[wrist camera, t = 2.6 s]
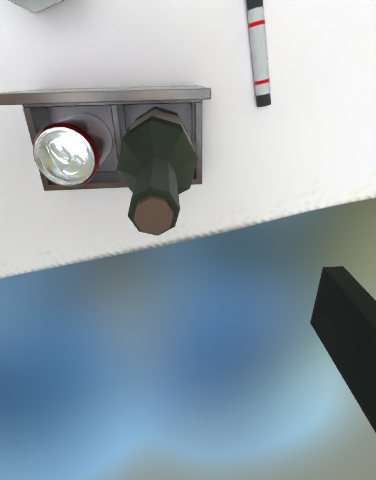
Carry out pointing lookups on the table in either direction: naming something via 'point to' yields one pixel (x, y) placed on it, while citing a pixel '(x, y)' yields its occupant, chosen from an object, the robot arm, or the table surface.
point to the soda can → (72, 149)
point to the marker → (259, 51)
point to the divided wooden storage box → (116, 97)
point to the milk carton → (35, 4)
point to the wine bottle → (156, 169)
